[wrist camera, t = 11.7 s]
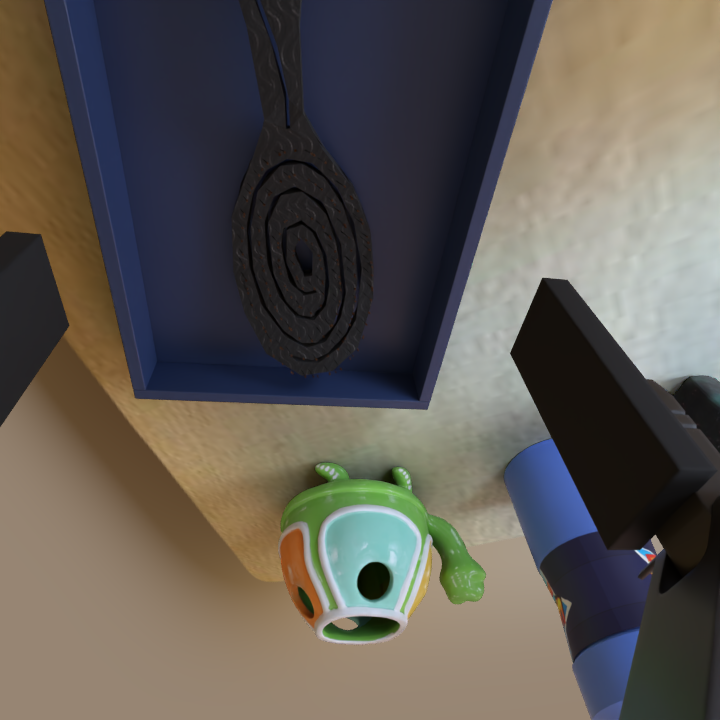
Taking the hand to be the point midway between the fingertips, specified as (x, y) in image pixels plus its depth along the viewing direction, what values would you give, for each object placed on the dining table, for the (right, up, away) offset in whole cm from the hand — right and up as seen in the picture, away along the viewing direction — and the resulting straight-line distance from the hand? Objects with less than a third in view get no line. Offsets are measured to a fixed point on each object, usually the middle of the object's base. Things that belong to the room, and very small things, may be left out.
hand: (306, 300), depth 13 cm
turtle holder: (+2, -15, +33) cm, 36 cm away
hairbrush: (-2, +9, +12) cm, 15 cm away
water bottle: (+20, -12, +32) cm, 39 cm away
